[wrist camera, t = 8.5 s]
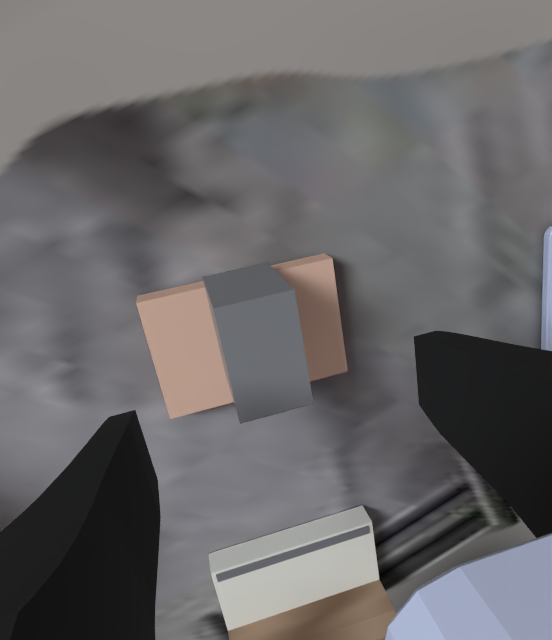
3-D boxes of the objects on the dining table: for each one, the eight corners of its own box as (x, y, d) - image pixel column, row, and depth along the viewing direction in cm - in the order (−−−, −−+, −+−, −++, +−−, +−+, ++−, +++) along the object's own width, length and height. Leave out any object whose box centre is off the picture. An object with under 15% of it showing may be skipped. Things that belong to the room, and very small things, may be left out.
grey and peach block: (323, 243, 20) (373, 270, 15) (339, 362, 21) (388, 418, 17) (134, 286, 18) (125, 329, 14) (169, 407, 20) (172, 481, 16)
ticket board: (362, 505, 25) (388, 549, 22) (373, 583, 27) (398, 633, 24) (208, 553, 23) (215, 606, 21) (231, 631, 25) (240, 690, 23)
